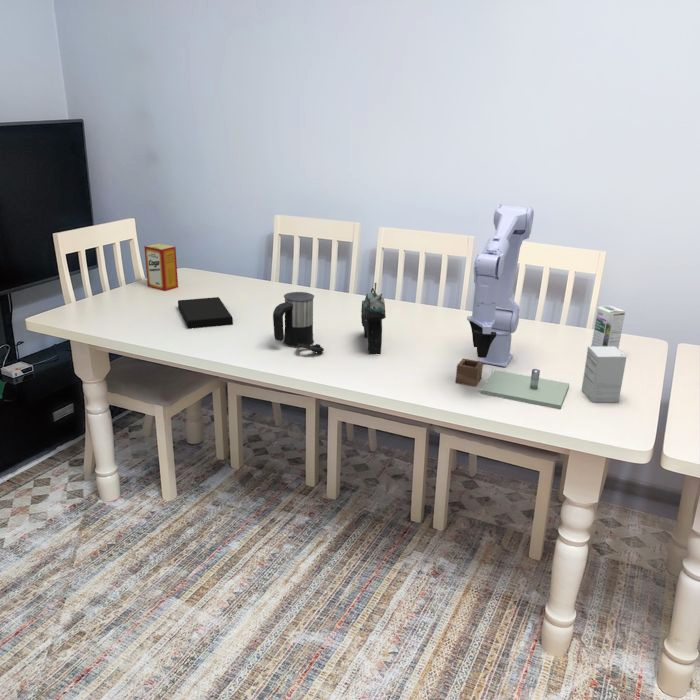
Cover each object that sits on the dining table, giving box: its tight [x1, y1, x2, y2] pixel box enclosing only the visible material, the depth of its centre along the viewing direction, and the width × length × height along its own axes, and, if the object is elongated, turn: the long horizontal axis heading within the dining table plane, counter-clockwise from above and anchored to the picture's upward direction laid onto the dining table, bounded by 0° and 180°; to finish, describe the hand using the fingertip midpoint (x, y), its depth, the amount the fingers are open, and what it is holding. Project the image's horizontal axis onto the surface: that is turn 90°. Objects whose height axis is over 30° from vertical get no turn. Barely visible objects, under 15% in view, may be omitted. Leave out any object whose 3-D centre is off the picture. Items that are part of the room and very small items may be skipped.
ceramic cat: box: [360, 282, 387, 355], centre depth 205 cm, size 20×6×20 cm, turn 4°
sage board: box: [480, 369, 570, 410], centre depth 180 cm, size 15×20×1 cm
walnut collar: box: [455, 358, 484, 387], centre depth 184 cm, size 6×6×5 cm
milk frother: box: [272, 291, 325, 354], centre depth 203 cm, size 14×16×15 cm
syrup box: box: [591, 305, 626, 350], centre depth 203 cm, size 6×6×14 cm
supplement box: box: [581, 345, 627, 403], centre depth 175 cm, size 7×7×13 cm
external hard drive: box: [177, 296, 234, 330], centre depth 230 cm, size 14×23×3 cm, turn 21°
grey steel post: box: [530, 368, 541, 390], centre depth 178 cm, size 2×2×5 cm
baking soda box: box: [144, 242, 179, 292], centre depth 258 cm, size 10×6×16 cm
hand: (479, 351), depth 178 cm, fingers open, 7 cm apart
